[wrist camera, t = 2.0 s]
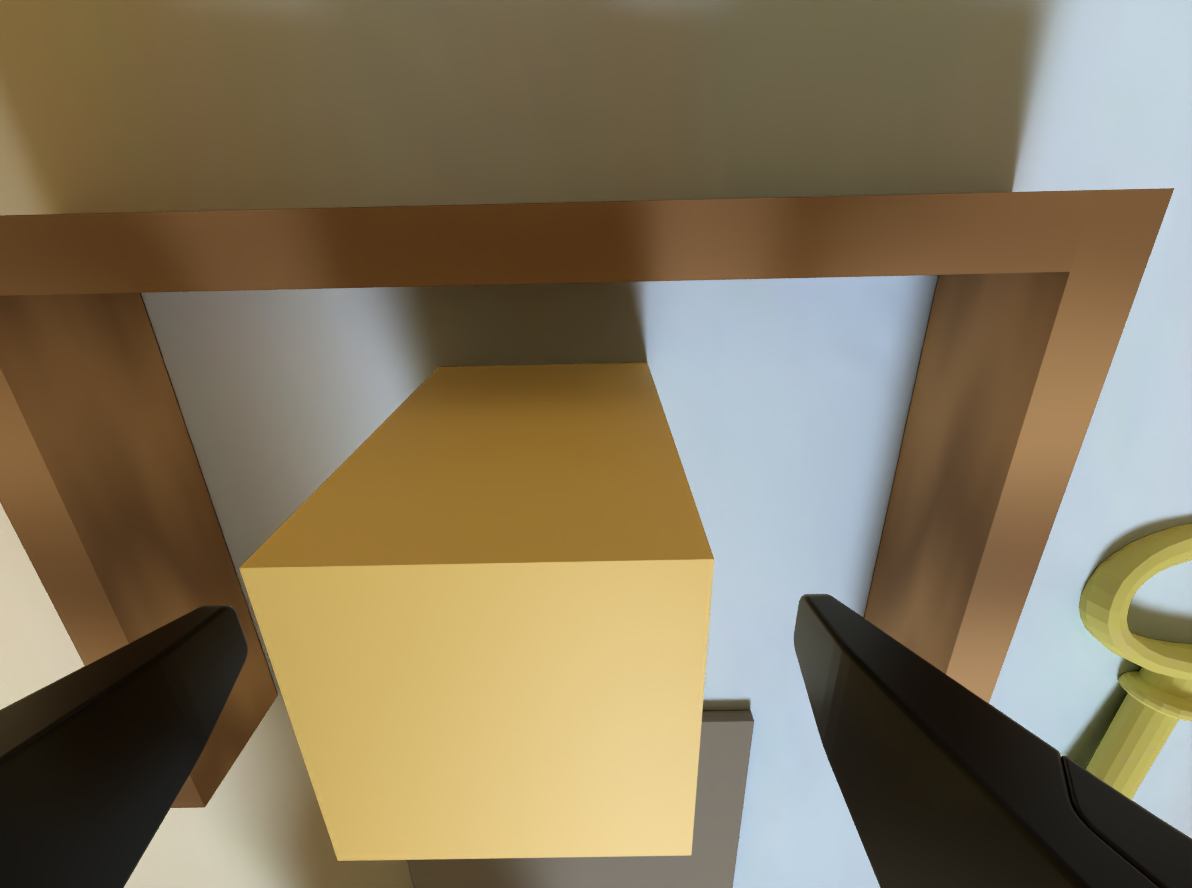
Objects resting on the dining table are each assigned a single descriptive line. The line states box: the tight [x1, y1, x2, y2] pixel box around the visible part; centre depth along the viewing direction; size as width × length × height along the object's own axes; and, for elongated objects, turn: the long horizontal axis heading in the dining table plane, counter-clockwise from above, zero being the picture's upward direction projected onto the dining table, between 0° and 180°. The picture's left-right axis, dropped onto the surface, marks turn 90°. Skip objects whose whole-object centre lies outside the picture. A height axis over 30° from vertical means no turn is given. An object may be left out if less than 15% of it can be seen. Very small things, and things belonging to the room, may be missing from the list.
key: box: [1079, 523, 1192, 799], centre depth 17 cm, size 7×12×2 cm, turn 10°
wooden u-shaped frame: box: [0, 188, 1174, 808], centre depth 13 cm, size 14×20×4 cm
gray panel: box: [407, 711, 754, 888], centre depth 19 cm, size 10×12×1 cm
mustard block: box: [239, 362, 714, 861], centre depth 10 cm, size 5×5×8 cm
